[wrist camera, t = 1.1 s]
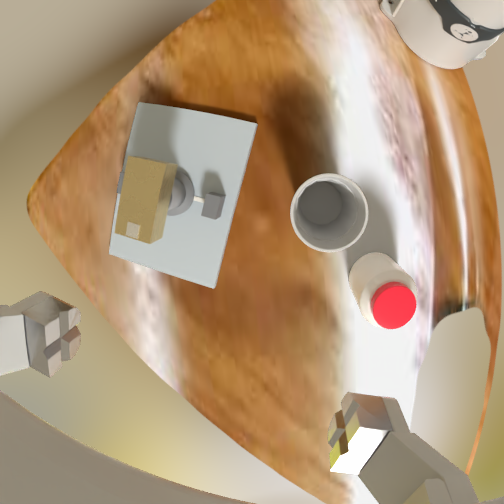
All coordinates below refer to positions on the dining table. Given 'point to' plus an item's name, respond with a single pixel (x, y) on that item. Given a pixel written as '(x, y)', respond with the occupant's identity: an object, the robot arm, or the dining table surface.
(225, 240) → the base
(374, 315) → the pill bottle
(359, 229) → the cup
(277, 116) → the dining table surface
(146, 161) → the tan parcel with label
